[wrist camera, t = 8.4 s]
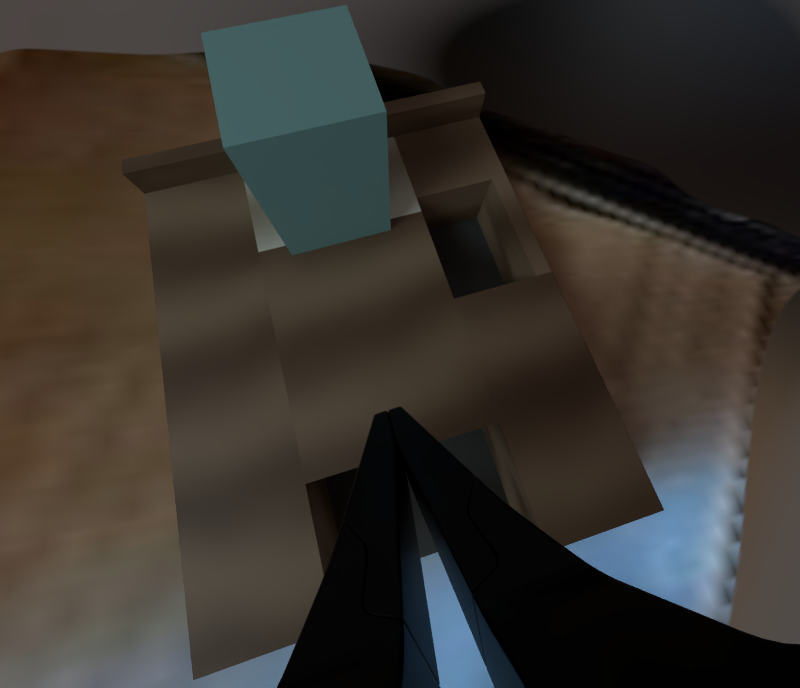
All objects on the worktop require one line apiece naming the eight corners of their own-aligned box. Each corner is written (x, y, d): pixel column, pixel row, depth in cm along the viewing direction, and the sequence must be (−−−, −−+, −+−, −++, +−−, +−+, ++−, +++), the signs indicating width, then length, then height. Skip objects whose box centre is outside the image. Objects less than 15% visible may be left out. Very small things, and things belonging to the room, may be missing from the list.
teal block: (390, 229, 18) (386, 111, 11) (291, 255, 17) (223, 148, 10) (364, 152, 19) (346, 4, 12) (272, 174, 19) (200, 32, 12)
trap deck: (606, 490, 18) (694, 520, 12) (242, 617, 16) (165, 715, 11) (461, 156, 24) (479, 81, 19) (187, 222, 22) (121, 160, 17)
